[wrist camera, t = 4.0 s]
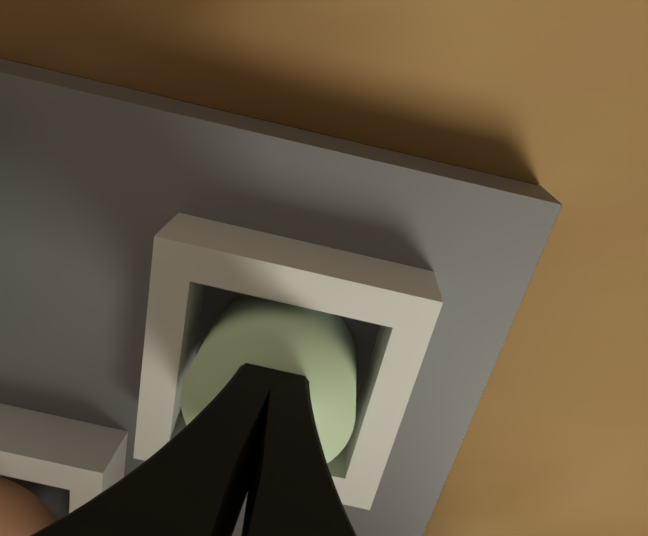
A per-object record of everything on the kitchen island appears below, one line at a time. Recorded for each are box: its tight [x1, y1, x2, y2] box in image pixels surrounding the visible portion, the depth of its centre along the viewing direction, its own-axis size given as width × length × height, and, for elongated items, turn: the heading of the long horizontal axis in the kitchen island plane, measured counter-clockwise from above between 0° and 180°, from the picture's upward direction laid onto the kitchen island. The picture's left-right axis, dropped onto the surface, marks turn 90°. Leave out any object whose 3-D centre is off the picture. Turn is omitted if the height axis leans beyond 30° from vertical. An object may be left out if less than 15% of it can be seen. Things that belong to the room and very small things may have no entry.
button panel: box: [0, 58, 562, 536], centre depth 14 cm, size 15×18×3 cm
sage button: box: [181, 294, 357, 463], centre depth 12 cm, size 4×4×2 cm
